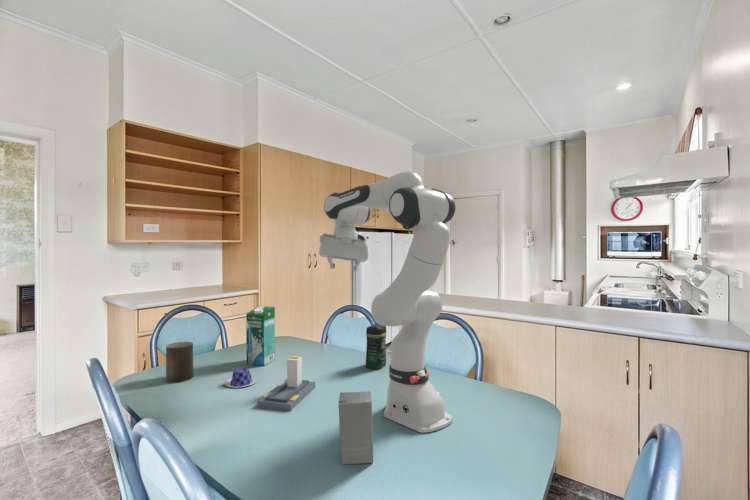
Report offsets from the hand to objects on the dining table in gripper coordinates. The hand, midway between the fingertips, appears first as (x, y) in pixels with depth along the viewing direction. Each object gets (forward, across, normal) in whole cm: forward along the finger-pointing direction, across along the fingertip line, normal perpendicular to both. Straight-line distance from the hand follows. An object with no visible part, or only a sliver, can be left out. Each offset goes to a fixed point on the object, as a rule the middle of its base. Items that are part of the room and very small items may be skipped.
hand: (343, 269), depth 143 cm
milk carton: (+35, -20, +49) cm, 63 cm away
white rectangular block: (+43, -14, +10) cm, 46 cm away
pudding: (+43, -30, +28) cm, 60 cm away
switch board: (+47, -17, +7) cm, 50 cm away
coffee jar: (+37, +25, +20) cm, 49 cm away
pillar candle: (+42, -52, +44) cm, 79 cm away
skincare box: (+59, -9, -36) cm, 69 cm away
